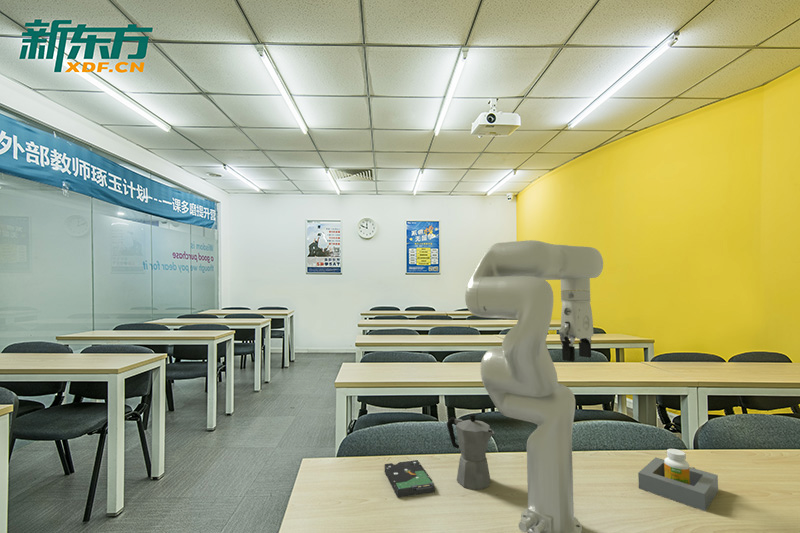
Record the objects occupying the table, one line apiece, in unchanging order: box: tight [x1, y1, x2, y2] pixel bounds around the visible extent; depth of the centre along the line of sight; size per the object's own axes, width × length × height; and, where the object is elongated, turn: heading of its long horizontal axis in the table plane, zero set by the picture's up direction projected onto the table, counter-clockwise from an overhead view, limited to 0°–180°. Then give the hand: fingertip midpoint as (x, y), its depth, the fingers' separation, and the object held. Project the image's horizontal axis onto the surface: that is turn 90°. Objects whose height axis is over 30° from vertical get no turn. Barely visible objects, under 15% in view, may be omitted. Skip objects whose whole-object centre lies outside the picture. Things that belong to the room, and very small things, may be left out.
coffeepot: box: [446, 413, 496, 491], centre depth 107 cm, size 15×9×18 cm, turn 45°
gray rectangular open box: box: [637, 456, 719, 512], centre depth 104 cm, size 23×14×4 cm, turn 131°
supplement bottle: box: [663, 448, 690, 485], centre depth 101 cm, size 5×5×10 cm
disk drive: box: [384, 459, 436, 499], centre depth 106 cm, size 10×3×15 cm
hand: (577, 358), depth 107 cm, fingers open, 9 cm apart
